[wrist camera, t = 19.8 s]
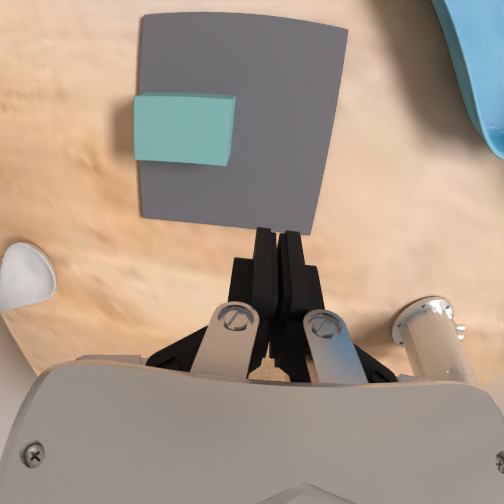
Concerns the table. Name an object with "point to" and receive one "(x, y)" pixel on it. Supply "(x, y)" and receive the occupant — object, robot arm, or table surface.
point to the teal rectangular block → (183, 127)
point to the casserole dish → (478, 62)
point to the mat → (246, 115)
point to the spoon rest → (25, 276)
